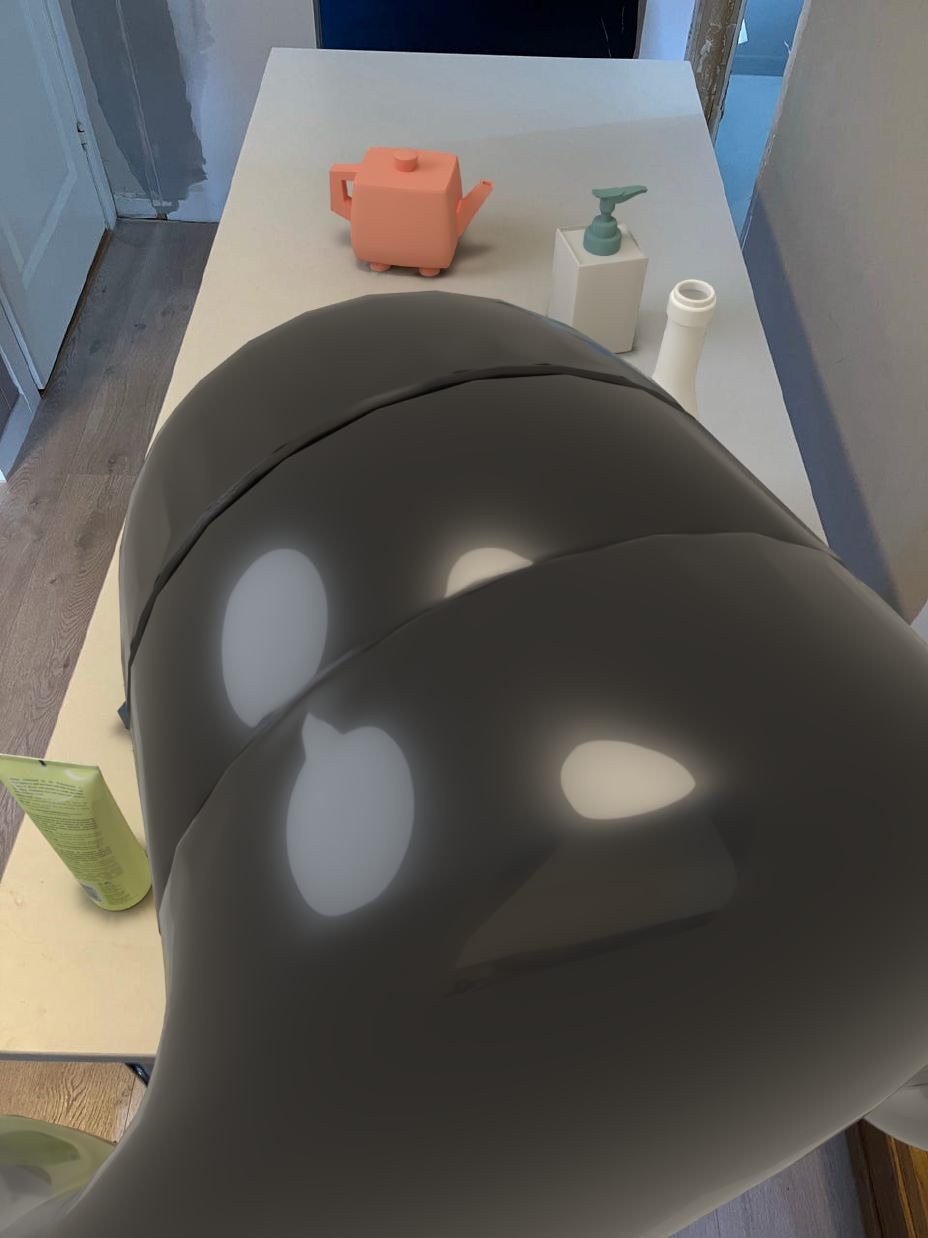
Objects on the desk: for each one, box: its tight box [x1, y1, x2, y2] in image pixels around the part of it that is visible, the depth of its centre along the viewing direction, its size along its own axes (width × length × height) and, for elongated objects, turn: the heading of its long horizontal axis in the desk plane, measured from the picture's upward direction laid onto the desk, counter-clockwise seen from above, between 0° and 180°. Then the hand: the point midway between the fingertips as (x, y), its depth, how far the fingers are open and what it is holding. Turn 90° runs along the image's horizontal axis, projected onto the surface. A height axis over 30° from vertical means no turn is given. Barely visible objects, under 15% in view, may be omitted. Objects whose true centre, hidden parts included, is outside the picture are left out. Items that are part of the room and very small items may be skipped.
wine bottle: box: [651, 278, 718, 422], centre depth 82 cm, size 10×10×30 cm
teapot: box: [328, 146, 495, 277], centre depth 122 cm, size 22×13×14 cm, turn 81°
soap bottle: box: [547, 184, 649, 354], centre depth 109 cm, size 9×9×19 cm
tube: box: [0, 752, 152, 912], centre depth 64 cm, size 6×5×20 cm
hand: (430, 911), depth 60 cm, fingers open, 8 cm apart
